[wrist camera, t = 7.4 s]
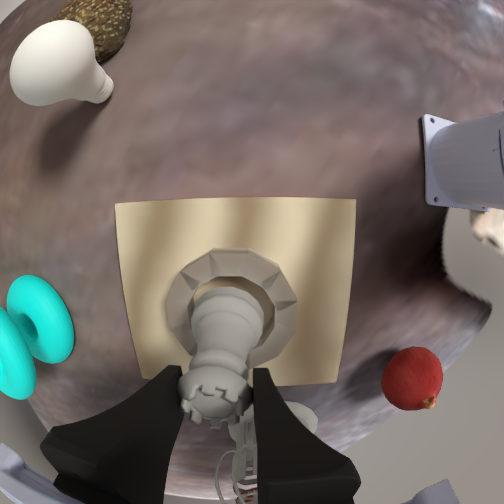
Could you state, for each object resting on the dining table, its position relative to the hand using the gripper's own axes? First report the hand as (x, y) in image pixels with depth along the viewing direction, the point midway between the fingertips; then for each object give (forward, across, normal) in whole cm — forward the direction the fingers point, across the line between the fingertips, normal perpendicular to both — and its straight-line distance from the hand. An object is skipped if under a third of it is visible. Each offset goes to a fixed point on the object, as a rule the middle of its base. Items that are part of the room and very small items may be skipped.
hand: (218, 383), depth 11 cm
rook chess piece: (+6, 0, -1) cm, 6 cm away
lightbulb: (+10, +11, -18) cm, 23 cm away
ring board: (+10, 0, 0) cm, 10 cm away
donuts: (+10, +21, +3) cm, 24 cm away
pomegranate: (+10, -16, +7) cm, 20 cm away
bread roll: (+11, +15, -27) cm, 33 cm away
